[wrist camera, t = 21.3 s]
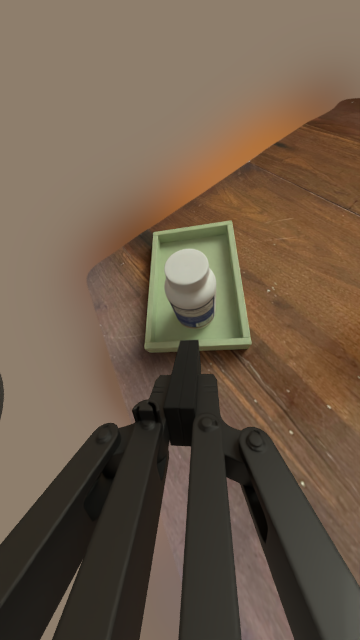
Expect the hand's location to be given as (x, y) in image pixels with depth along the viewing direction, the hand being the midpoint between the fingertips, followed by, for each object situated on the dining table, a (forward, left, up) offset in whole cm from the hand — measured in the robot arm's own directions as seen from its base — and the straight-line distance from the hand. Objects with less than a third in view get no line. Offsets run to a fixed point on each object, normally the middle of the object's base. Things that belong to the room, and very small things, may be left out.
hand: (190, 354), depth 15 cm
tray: (+4, +11, -8) cm, 14 cm away
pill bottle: (+2, +7, -8) cm, 11 cm away
